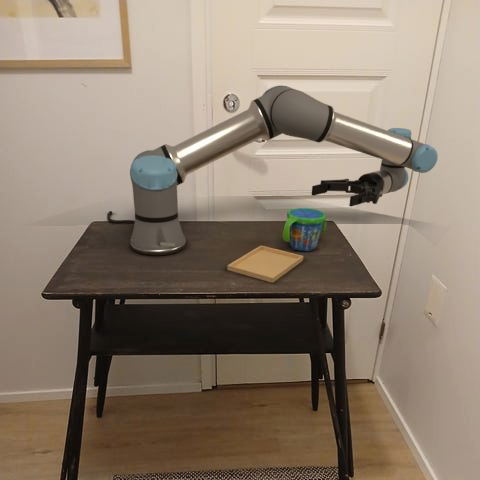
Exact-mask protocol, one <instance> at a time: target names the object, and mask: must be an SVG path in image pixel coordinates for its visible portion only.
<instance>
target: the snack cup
mask: <svg viewBox="0 0 480 480" xmlns="http://www.w3.org/2000/svg"><path fill="white" fill-rule="evenodd" d="M326 215H327V214H326V213H325V212H324V211H322V210H319V209H317V208H316V209H315V208H310V207H295V208H290V209H289V210H288V211H287V212H286V216H287V217H286V221H285V223H284V226H283V231H282V235H281V236H282V240H283V241H284V242H286V243H289V245H290V247H291V248H292V250H294V251H299V252H306V253H307V252H311V251H313V250H316V249H317V246H318V244H319V241H320V240H319V239H320V236H321V233H325V232H326V229H327V217H326Z"/></svg>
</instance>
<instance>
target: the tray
mask: <svg viewBox="0 0 480 480" xmlns="http://www.w3.org/2000/svg"><path fill="white" fill-rule="evenodd" d="M303 261H304V255H301V254H297V253H294V252H290V251H286V250H282V249H277V248H274V247H269V246H266V245H259V246H258V247H256V248H254V249H252V250H251V251H249V252H247V253H246V254H244V255H242V256H241V257H239V258H238V259H235V260H234V261H232V262H230V263H229V264H227V266H226V267H227V268H226V269H227V271H229V272H233V273H237V274H240V275H244V276H247V277H251V278H254V279H258V280H260V281H261V280H262V281H264V282H267V283H272V284H274V283H275V282H276V281H278V280H279V279H280V278H282V277H283V276H284V275H286V274H287V273H288V272H289V271H292V269H294V268H295V267H296V266H298V265H299V264H301V263H302V262H303Z"/></svg>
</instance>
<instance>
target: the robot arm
mask: <svg viewBox="0 0 480 480" xmlns="http://www.w3.org/2000/svg"><path fill="white" fill-rule="evenodd" d="M280 135H284V136H289V137H293V138H298V139H303V140H308V141H312V142H315V143H318V144H319V143H322V142H324V141H326V142H329V143H331V144H335V145H338V146H341V147H344V148H347V149H350V150H353V151H356V152H359V153H361V154H365V155H367V156H370V157H374V158H377V159H379V160H381V163H380V167H379V170H376V171H371V172H368V173H367V172H366V173H364V174H362V175H361V176H360V177H358V179H355V180H350V179H349V178H343V179H322V180H320V184H315V185H312V187H311V196H317V195H321V194H326V193H328V192H345V194H353V195H351V196H350V198H349V203H348V206H349V207H351V208H352V207H355V206H358V205H362V204H365V203H367V204H369V203H371V202H372V204H374V205H377V204H378V201H379V199H380V198H382V197H383V195H386V194H389V193H395V192H397V191H399V190H402V189H403V188H404V187H406V185H407V184H408V182H409V174H408V171H407V169H410V170H412V171H413V172H417V173H420V174H425V173H428V172H430V171H431V170H433V168H434V167H435V166H436V164H437V162H438V157H439V156H438V155H439V154H438V151H437V150H436V148H435V147H433V146H431V145H429V144H428V143H427V144H426V143H423V142H419V141H417V140H415V139H412V131H411V129H409V128H402V127H391V128H388V129H384V128H381V127H379V126H375V125H372V124H370V123H367V122H364V121H361V120H359V119H356V118H353V117H350V116H348V115H344V114H342V113H339V112H336V111H335V108H334V107H333V106H332V105H329V104H327V103H325V102H323V101H320V100H318V99H316V98H315V97H313V96H311V95H310V94H308V93H306V92H305V91H302V90H299V89H296V88H292V87H290V86H287V85H275V86H272V87H270V88H268V89H266V90H265V91H264V92H263V94H261V96H259V97H256V98H255V99H253V100H251V101H250V104H249V107H248V108H247V109H246V110H244V111H242V112H240V113H238V114H236V115H234V116H232V117H230V118H227V119H226V120H223V121H222V122H220V123H217V124H215V125H214V126H212V127H209V128H208V129H206V130H204V131H202V132H199V133H197V134H195V135H193V136H191V137H189V138H187V139H186V140H184V141H182V142H179V143H177V144H176V145H169V144H166V143H165V144H162V145H161V146H159V147H157V148H154V149H150V150H149V149H148V150H147V149H146V150H144V151H141V152H140V153H138V154H137V155H136V156H135V157H134V159H133V160H132V162H131V164H130V168H129V176H130V182H131V186H132V195H133V196H132V197H133V207H134V208H133V209H134V219H135V220H133V219H112V218H111V216H112V215H113V211H112V210H109V211H108V213H107V215H106V220H108V222H109V223H113V224H124V223H125V224H127V223H128V224H133V228H132V233H131V236H130V248H131V250H132V251H133V252H135V253H138V254H141V255H145V256H155V257H157V256H159V257H160V256H167V255H174V254H176V253H179V252H181V251H183V250H184V249H185V248H186V245H187V244H186V243H187V242H186V236H185V234H184V232H183V230H182V226H181V222H180V220H179V207H178V206H179V204H178V202H179V201H178V186H179V185H182V184H183V183H185V181H186V178H187V176H188V175H190V174H191V173H193V172H195V171H198V170H199V169H201V168H203V167H206V166H208V165H209V164H211V163H214V162H216V161H218V160H219V159H221V158H224V157H226V156H227V155H230V154H232V153H234V152H236V151H238V150H240V149H242V148H243V147H246V146H248V145H250V144H252V143H254V142H257V141H258V140H260V139H262V140H265V141H270V140H272V139H274V138H276V137H278V136H280ZM406 168H407V169H406Z"/></svg>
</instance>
